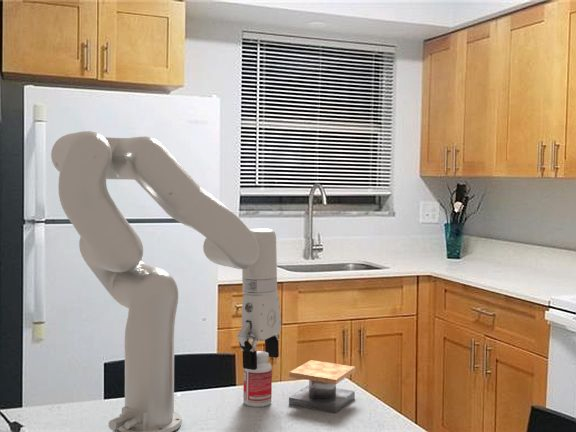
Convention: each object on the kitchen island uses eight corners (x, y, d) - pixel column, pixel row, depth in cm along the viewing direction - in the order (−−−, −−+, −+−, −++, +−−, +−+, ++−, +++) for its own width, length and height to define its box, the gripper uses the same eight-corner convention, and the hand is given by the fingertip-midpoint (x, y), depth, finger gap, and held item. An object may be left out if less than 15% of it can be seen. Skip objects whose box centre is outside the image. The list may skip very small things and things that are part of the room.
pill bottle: (277, 403, 145) (277, 353, 145) (256, 410, 141) (256, 358, 140) (258, 396, 150) (259, 348, 149) (237, 402, 145) (238, 352, 145)
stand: (335, 413, 140) (336, 379, 139) (288, 404, 145) (289, 372, 144) (354, 398, 149) (355, 366, 149) (310, 390, 154) (310, 360, 154)
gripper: (254, 294, 135) (256, 376, 136) (293, 280, 150) (294, 354, 151) (223, 291, 138) (225, 371, 139) (264, 278, 153) (265, 350, 155)
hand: (261, 362), depth 145 cm, fingers open, 9 cm apart
